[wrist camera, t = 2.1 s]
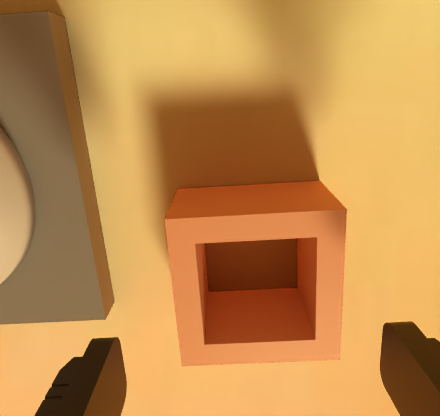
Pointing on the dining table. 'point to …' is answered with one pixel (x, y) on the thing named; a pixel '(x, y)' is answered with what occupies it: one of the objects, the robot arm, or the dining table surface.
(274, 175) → the dining table surface
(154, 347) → the dining table surface
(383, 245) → the dining table surface
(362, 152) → the dining table surface
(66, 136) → the post plate
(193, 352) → the collar
